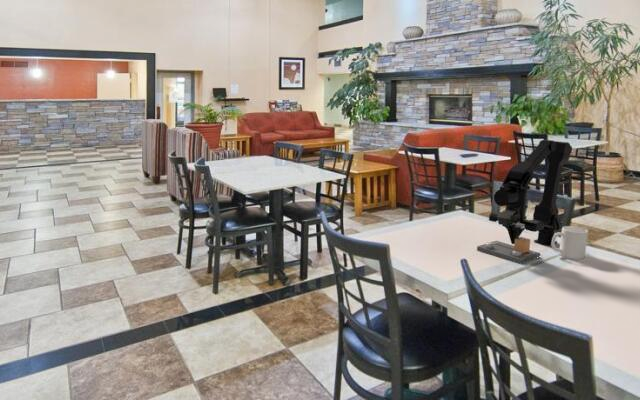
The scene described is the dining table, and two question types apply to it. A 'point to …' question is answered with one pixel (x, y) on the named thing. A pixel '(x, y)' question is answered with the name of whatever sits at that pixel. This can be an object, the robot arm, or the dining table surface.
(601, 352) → the dining table surface
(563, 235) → the cup
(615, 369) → the dining table surface
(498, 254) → the board
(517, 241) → the orange cube
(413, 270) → the dining table surface
